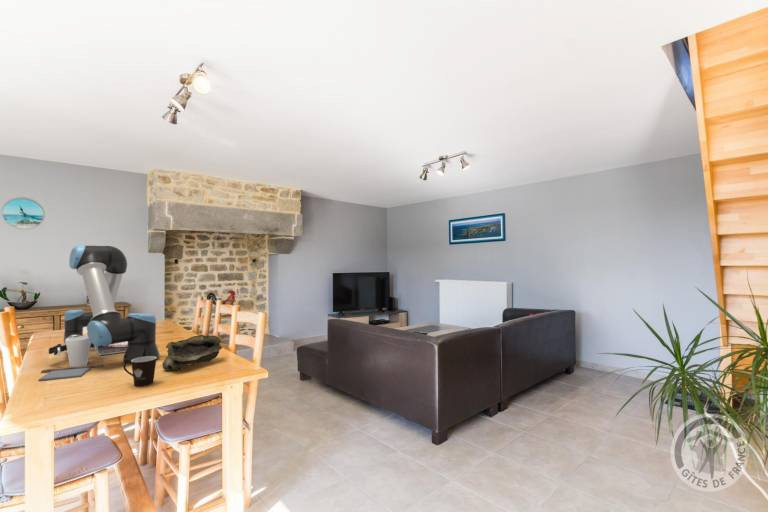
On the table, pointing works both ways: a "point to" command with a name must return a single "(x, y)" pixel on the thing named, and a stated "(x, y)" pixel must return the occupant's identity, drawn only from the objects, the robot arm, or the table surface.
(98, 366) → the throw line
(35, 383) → the table surface
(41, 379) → the mat
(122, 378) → the table surface
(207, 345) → the hollow geode rock
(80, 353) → the foam cup
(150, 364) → the coffee mug
